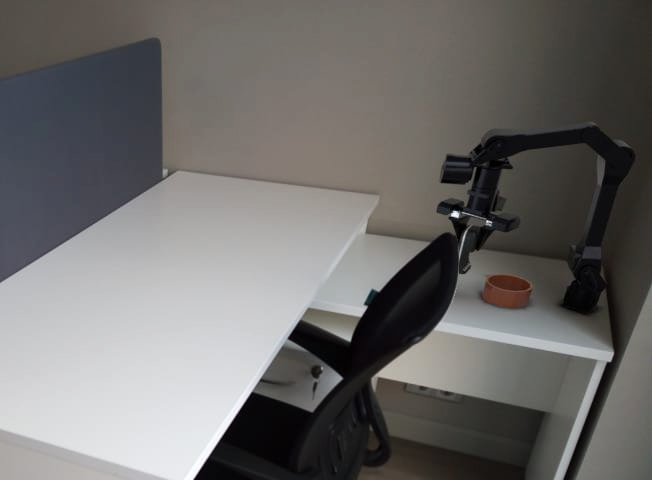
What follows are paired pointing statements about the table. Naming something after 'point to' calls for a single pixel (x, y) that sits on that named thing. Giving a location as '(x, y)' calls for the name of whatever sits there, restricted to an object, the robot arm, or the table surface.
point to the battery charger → (467, 247)
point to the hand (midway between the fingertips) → (469, 247)
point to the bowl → (507, 291)
